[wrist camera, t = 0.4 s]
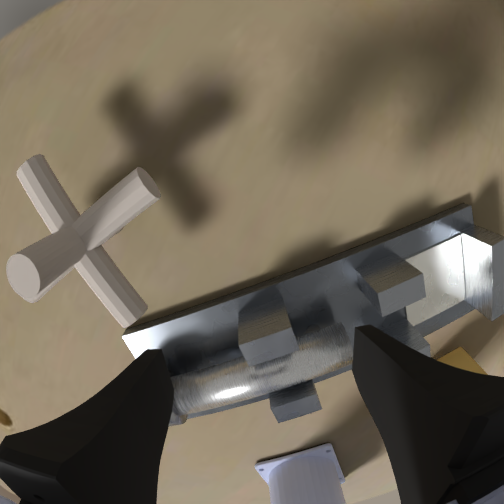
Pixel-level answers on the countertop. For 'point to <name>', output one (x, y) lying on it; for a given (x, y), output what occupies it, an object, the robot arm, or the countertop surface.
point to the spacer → (461, 361)
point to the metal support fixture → (340, 304)
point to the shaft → (260, 374)
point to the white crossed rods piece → (80, 239)
